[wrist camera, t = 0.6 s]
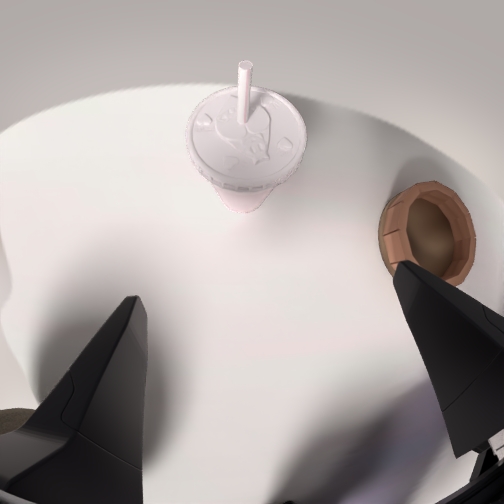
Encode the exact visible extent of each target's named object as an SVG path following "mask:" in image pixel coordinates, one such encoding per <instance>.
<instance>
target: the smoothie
mask: <svg viewBox="0 0 504 504" xmlns="http://www.w3.org/2000/svg"><path fill="white" fill-rule="evenodd" d="M252 65H253V64H252V63H251V62H249V61H242V62H240V63H239V68H238V86H234V87H229V88H225V89H222V90H219V91H217V92H215V93H213V94H211V95H210V96H208V97H207V98H205V99H204V100H203V101H202V102H201V103H199V104H198V106H197V107H196V108H195V109H194V111H193V112H192V114H191V116H190V118H189V120H188V123H187V127H186V143H187V149H188V154H189V158H190V160H191V162H192V164H193V165H194V167H195V169H196V170H197V171H198V172H199V173H200V174H201V175H202V176H203V177H204V178H205V179H206V180H207V181H209V182H210V183H211V184H212V186H213V188H214V189H215V191H216V193H217V194H218V196H219V198H220V199H221V201H222V202H223V204H224V205H225V206H226V207H227V208H228V209H229V210H231V211H233V212H237V213H248V212H251V211H253V210H255V209H256V208H258V207H259V206H260V205H261V203H262V202H263V201H264V200H265V198H266V197H267V196H268V195H269V193H270V192H271V191H272V190H273V188H274V187H275V186H277V185H279V184H281V183H283V182H285V181H286V180H287V179H288V178H289V177H290V176H291V175H292V174H293V173H294V172H295V171H296V169H297V168H298V166H299V164H300V162H301V161H302V158H303V153H304V151H305V148H306V142H307V132H306V127H305V123H304V121H303V118H302V116H301V115H300V113H299V111H298V110H297V109H296V108H295V106H294V105H293V104H292V103H291V102H290V101H288V100H287V99H286V98H284V97H283V96H281V95H280V94H278V93H276V92H274V91H271V90H269V89H265V88H262V87H257V86H251V78H252V67H253V66H252Z"/></svg>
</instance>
